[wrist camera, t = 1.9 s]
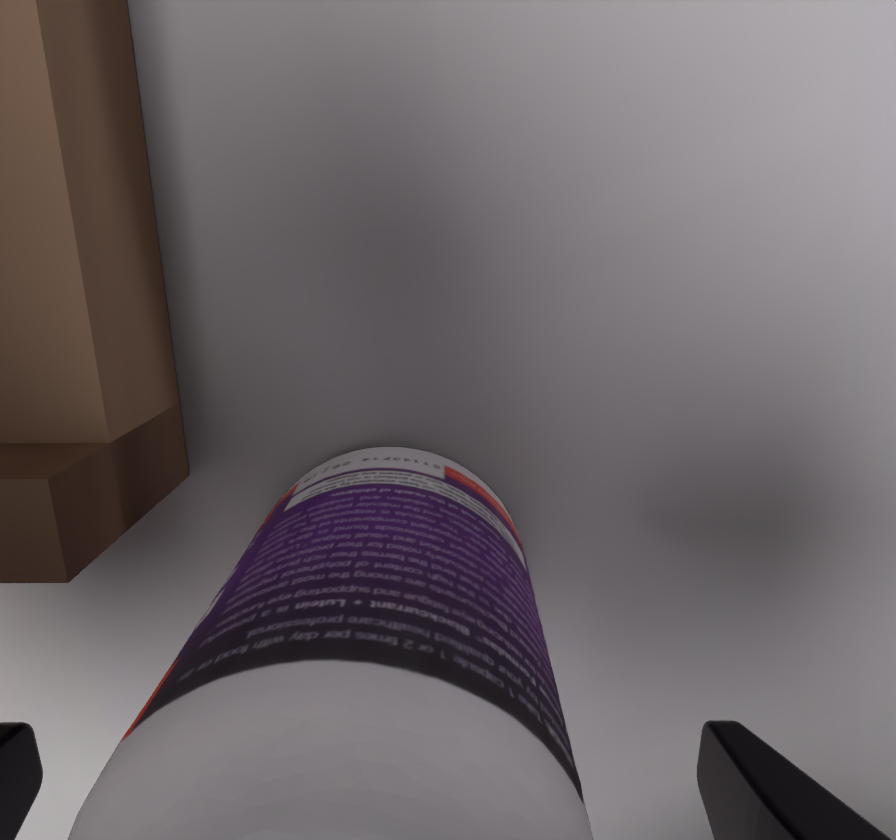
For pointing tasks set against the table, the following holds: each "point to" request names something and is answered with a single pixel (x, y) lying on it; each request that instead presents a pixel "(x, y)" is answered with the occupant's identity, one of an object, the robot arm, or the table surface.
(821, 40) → the table surface
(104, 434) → the socket
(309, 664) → the pill bottle
